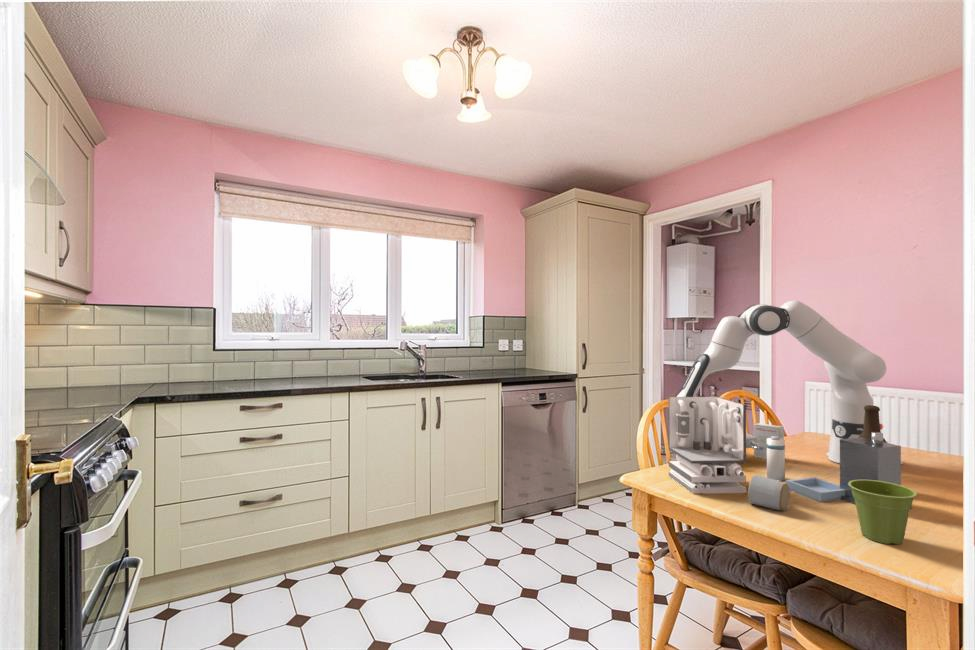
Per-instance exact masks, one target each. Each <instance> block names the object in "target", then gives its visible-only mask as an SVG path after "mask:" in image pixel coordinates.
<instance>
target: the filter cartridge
mask: <svg viewBox="0 0 975 650" xmlns="http://www.w3.org/2000/svg"><path fill="white" fill-rule="evenodd" d="M785 444H786V443H785V439H784V440H783V439H780V437H778V436H771V438H767V443H766V447H767V459H766V477H767V478H770V479H773V480H784V481H786V454H785V453H786V452H785V451H786V445H785Z"/></svg>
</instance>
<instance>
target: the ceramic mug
mask: <svg viewBox="0 0 975 650" xmlns="http://www.w3.org/2000/svg"><path fill="white" fill-rule="evenodd" d="M747 492H748V493H747V495H748V496H747V497H748V502H749V503H750V504H752V505H756V506H760V507H763V508H767V509H771V510H776V511H786V509H788V506H789V503H790V498H791V497H790V496H791V491H790V489H789V486H788V485H787V484H786V482H784V481H777V480H773V479H770V478H767V476H763V475H761V474H760V475H759V474H755V473H754V474H753V475H752V477H751V478H750V480H749V484H748V490H747Z"/></svg>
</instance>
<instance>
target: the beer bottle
mask: <svg viewBox="0 0 975 650" xmlns="http://www.w3.org/2000/svg"><path fill="white" fill-rule="evenodd" d="M864 410H865V415H864V428H863V432H862V434H861V435H860V436H859V437H858V438H861V437H862V438H866V439H871V432H880V433H882V432H881V431H882V430H880V424H881V423H880V413H879V412H880V411H881V409H880V407H879V406H877V405H874V404H873V405H866V406H864ZM886 441H887V440H886V439H885V438H884V437H883V442H885V443H887V442H888V441H887V442H886Z"/></svg>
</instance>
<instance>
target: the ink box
mask: <svg viewBox="0 0 975 650" xmlns="http://www.w3.org/2000/svg"><path fill="white" fill-rule="evenodd" d="M784 432H785V429H784V426H782V425H781V426H780V425H775V424H768V423H760V422H758V423H754V424H753V436H755V437H756V438H757V444H759V449H753V457H754V458H757V457H759V459H763V458H765V459H764V460H767V447H766V443H767V438H771V436H778V437H780V439H783V440H785V438H784V437H785V435H784Z"/></svg>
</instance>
